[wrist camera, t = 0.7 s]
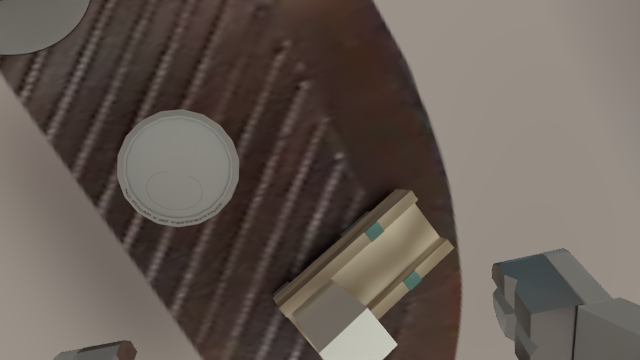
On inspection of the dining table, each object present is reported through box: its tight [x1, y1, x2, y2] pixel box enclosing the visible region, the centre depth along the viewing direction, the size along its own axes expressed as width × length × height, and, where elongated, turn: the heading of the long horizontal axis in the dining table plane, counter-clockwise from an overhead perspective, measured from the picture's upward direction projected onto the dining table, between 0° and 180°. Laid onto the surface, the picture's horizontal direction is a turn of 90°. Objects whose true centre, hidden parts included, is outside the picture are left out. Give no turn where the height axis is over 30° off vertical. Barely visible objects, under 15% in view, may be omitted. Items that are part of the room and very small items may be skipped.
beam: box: [273, 189, 453, 360], centre depth 47 cm, size 8×17×6 cm, turn 129°
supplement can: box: [117, 109, 239, 227], centre depth 38 cm, size 8×8×15 cm
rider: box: [292, 279, 397, 360], centre depth 40 cm, size 4×5×10 cm
